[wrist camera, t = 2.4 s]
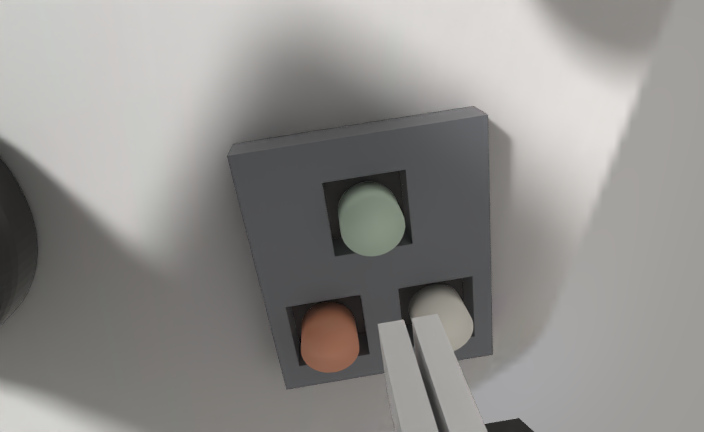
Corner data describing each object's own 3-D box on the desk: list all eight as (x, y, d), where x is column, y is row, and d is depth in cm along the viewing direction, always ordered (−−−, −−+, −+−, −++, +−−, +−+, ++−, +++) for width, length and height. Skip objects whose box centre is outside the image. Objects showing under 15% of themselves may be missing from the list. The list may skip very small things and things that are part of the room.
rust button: (306, 350, 27) (306, 376, 25) (296, 306, 26) (296, 331, 24) (358, 341, 27) (362, 367, 25) (351, 297, 26) (355, 321, 24)
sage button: (342, 241, 25) (345, 260, 23) (333, 186, 23) (335, 203, 22) (400, 231, 25) (407, 250, 23) (394, 177, 24) (401, 192, 22)
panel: (287, 365, 29) (286, 389, 28) (233, 144, 24) (227, 155, 22) (481, 332, 30) (492, 354, 28) (474, 106, 24) (487, 114, 22)
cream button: (410, 333, 27) (418, 357, 26) (406, 288, 26) (413, 311, 24) (462, 324, 28) (474, 348, 26) (460, 279, 26) (472, 301, 24)
